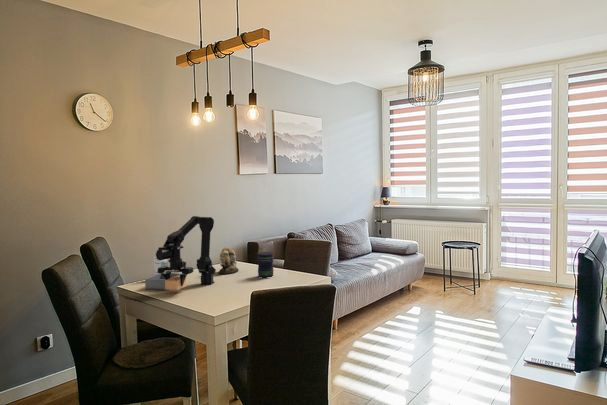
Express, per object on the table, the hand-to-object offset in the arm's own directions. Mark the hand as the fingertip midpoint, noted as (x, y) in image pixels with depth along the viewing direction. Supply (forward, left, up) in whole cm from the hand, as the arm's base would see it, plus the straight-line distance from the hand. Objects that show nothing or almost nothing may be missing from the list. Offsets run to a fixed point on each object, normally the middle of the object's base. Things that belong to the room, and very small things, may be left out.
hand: (175, 285), depth 224 cm
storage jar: (-37, -45, -4) cm, 58 cm away
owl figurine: (-8, -54, -4) cm, 55 cm away
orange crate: (0, 0, -1) cm, 1 cm away
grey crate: (+14, -12, -4) cm, 19 cm away
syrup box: (+26, -28, -4) cm, 39 cm away
